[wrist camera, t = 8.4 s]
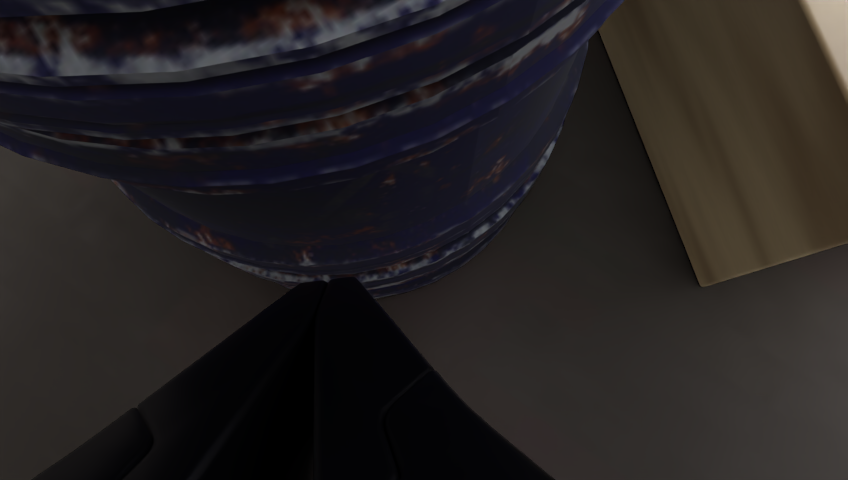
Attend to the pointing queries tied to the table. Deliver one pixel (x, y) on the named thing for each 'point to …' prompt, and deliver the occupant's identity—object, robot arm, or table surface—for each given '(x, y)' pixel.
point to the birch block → (741, 123)
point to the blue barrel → (303, 120)
